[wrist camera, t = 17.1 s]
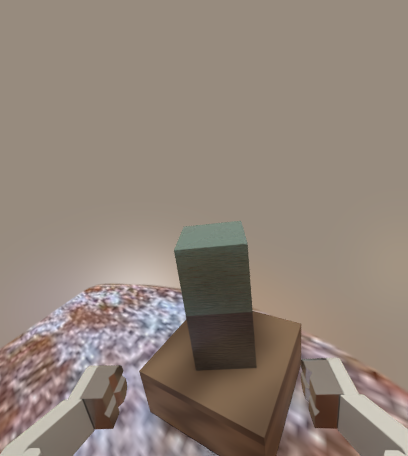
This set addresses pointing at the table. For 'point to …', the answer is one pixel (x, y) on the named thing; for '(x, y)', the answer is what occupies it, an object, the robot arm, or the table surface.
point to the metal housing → (217, 295)
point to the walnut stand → (228, 390)
